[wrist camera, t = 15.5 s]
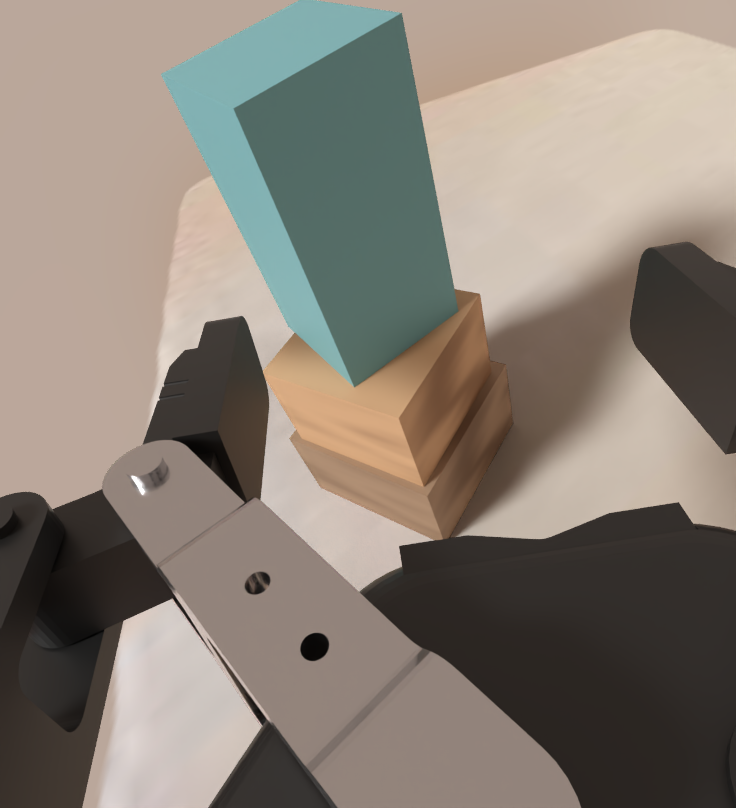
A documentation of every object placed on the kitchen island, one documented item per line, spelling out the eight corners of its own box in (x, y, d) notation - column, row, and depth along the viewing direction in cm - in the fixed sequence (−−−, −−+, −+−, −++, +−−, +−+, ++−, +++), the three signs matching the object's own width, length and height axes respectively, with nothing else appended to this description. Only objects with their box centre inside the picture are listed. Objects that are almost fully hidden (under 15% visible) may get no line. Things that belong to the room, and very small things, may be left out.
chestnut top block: (373, 341, 31) (347, 269, 27) (491, 372, 28) (480, 293, 24) (301, 438, 28) (261, 372, 24) (423, 487, 25) (398, 418, 21)
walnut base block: (393, 386, 36) (372, 330, 32) (513, 424, 31) (505, 364, 28) (321, 488, 32) (289, 438, 28) (445, 546, 28) (427, 496, 24)
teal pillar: (382, 262, 27) (302, -2, 19) (458, 311, 24) (401, 13, 15) (288, 326, 26) (160, 74, 18) (354, 387, 22) (233, 108, 14)
